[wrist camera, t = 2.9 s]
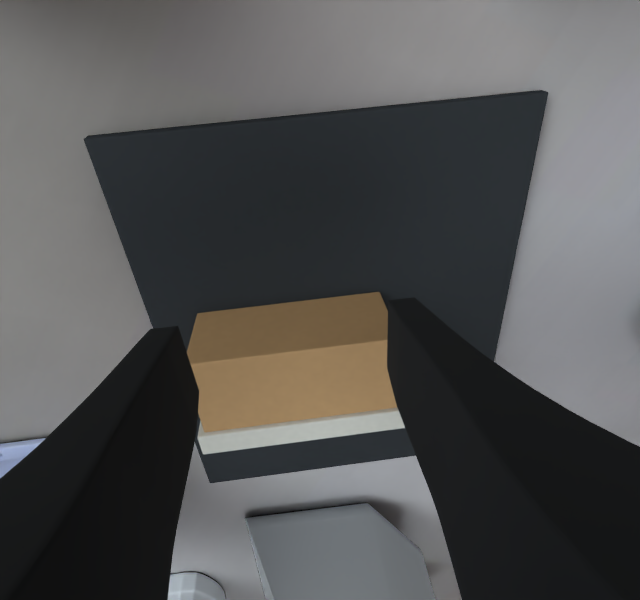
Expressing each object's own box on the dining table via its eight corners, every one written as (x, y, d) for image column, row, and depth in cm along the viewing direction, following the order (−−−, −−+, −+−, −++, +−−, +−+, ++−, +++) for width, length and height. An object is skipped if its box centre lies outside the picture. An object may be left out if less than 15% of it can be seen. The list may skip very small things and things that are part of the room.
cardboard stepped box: (213, 390, 24) (202, 455, 20) (191, 311, 21) (174, 369, 17) (427, 363, 24) (455, 422, 21) (432, 282, 22) (465, 333, 18)
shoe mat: (210, 476, 29) (209, 489, 28) (87, 135, 17) (79, 141, 16) (474, 441, 30) (479, 452, 29) (542, 90, 17) (554, 93, 17)
